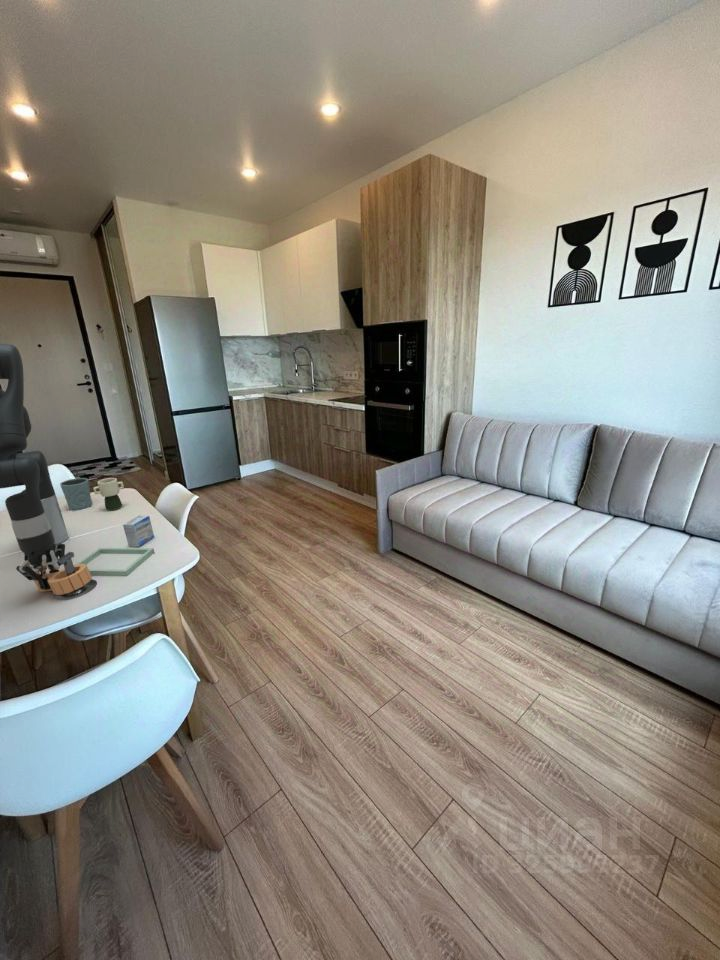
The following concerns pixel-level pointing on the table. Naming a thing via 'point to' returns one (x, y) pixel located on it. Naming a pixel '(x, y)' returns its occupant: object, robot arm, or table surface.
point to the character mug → (110, 492)
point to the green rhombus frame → (118, 572)
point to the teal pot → (77, 493)
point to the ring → (67, 580)
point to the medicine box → (138, 531)
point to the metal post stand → (70, 570)
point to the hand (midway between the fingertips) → (51, 585)
